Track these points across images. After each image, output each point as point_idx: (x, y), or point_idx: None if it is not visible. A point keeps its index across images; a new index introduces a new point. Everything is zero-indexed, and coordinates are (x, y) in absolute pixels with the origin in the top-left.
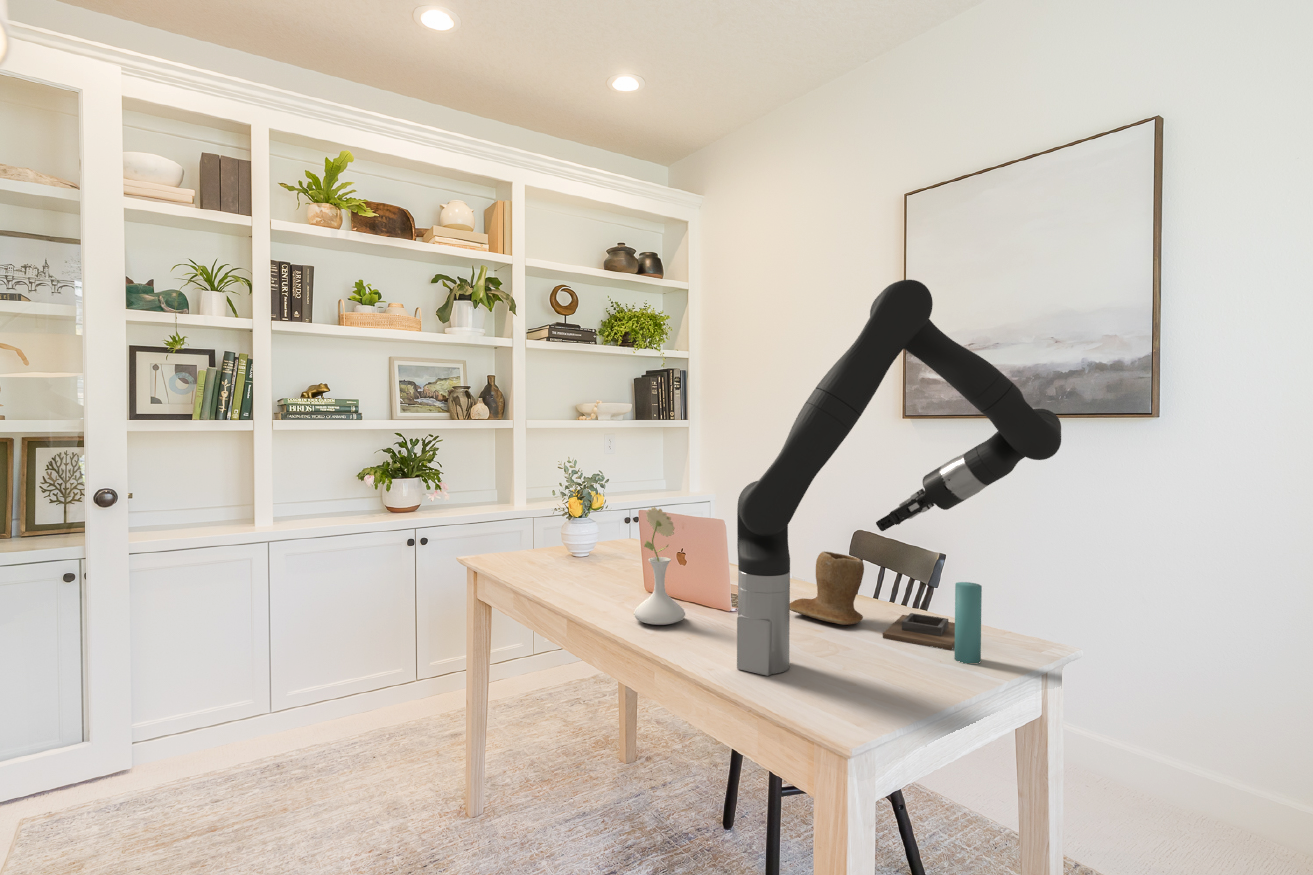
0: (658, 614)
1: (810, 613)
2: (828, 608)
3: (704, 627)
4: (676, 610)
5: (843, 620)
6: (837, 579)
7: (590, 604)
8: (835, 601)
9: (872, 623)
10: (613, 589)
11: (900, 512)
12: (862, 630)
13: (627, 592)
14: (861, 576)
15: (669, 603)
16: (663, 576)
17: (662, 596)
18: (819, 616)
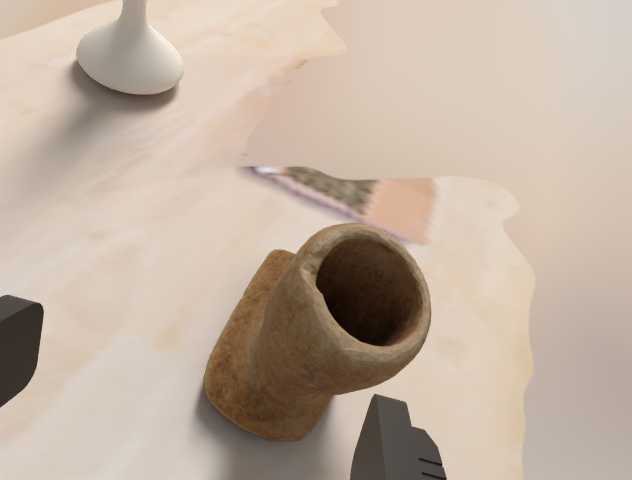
0: (84, 48)
1: (240, 301)
2: (253, 336)
3: (116, 131)
4: (113, 67)
5: (209, 388)
6: (267, 313)
7: (196, 4)
8: (260, 343)
9: (301, 474)
10: (294, 26)
11: (364, 471)
12: (216, 453)
13: (288, 40)
14: (329, 385)
15: (116, 47)
16: None
17: (119, 27)
18: (226, 324)
